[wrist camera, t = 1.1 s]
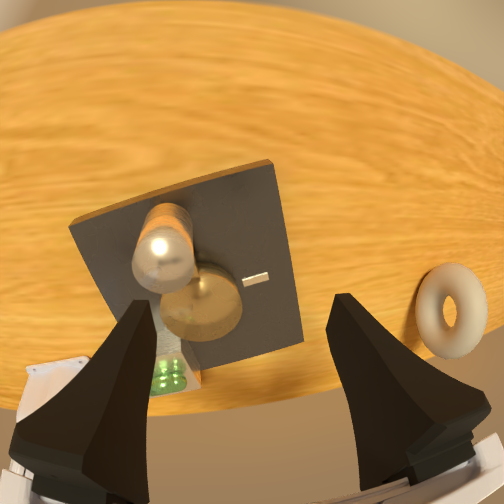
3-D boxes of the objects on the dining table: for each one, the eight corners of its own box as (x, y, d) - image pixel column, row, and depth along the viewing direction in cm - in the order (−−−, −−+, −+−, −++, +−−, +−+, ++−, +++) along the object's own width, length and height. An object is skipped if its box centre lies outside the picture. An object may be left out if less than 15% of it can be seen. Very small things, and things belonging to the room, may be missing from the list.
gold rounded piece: (245, 314, 25) (263, 378, 19) (177, 332, 25) (178, 399, 19) (207, 180, 20) (215, 221, 14) (121, 207, 19) (94, 257, 13)
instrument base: (155, 369, 29) (154, 418, 24) (74, 218, 21) (44, 257, 15) (299, 331, 30) (320, 377, 25) (267, 159, 21) (294, 181, 16)
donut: (426, 245, 28) (491, 300, 19) (447, 245, 29) (509, 295, 20) (398, 322, 33) (444, 382, 24) (419, 318, 33) (464, 374, 25)
